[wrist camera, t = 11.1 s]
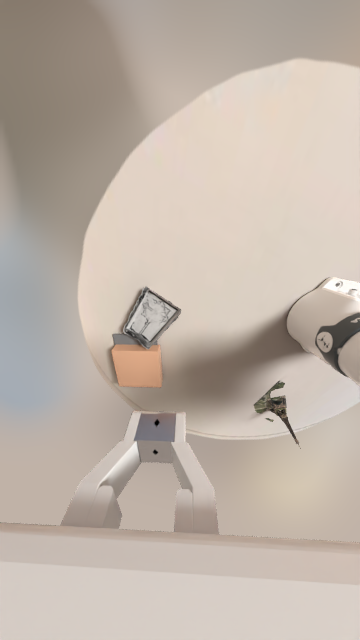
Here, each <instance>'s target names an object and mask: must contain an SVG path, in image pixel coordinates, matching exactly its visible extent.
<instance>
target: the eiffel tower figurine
mask: <svg viewBox="0 0 360 640" xmlns="http://www.w3.org/2000/svg"><path fill="white" fill-rule="evenodd" d="M284 384H285V383H283V382H280V381H279V382H278V383H277V384H276V385H275V386H273V387H272V388H271V389H270V390H269V391H268V392H267V393H266V394H265V395H264V396H263V397H262V398H261V399H260V400H259V401H258V402H257V403H256V404H254V408H255V411H256V412H257V413H263V412H264V411H266V409H267V408H268V409H269V411H271V412H273V413H275V414H276V415H277V416H279V417H280V418H281V419H282V421H283V422H284V423H285V424H286V426H287V428H288V429H289V431H290V433H291V434H292V436H293V438H294V439H295V442H296V444H298V445H299V442H298V441H297V439H296V437H295V435H294V433H293V430H292V428H291V426H290V424H289V421H288V417H287V415H286V408H287V407H286V398H285V396H280V397H274V398H270V393H271V391H273V390H275V389H279V388H283V386H284ZM279 410H281V411H279ZM265 419H267V420H269V421H272V422H273V421H274V420H272V419H269V418H265Z"/></svg>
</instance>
